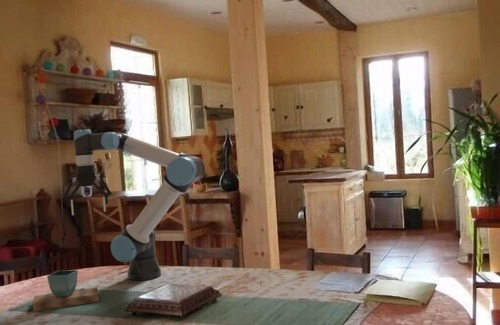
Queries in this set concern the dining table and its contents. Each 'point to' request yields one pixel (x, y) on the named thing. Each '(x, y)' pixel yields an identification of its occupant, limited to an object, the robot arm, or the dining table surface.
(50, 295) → the walnut board
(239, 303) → the dining table surface
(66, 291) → the flower pot
